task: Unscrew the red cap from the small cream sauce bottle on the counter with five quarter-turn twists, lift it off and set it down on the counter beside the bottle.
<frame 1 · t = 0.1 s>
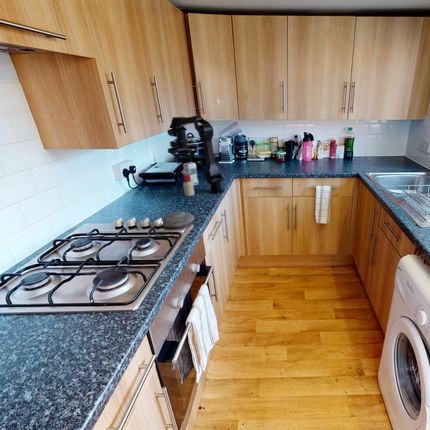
hand: (185, 162, 187), 15 cm above the worktop, tool pointing down, fingers open, 9 cm apart
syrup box: (192, 184, 190), on the worktop
bottle: (189, 194, 172), on the worktop
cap: (186, 176, 168), point 11 cm above the worktop, screwed on, not yet turned
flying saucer: (178, 223, 136), on the worktop
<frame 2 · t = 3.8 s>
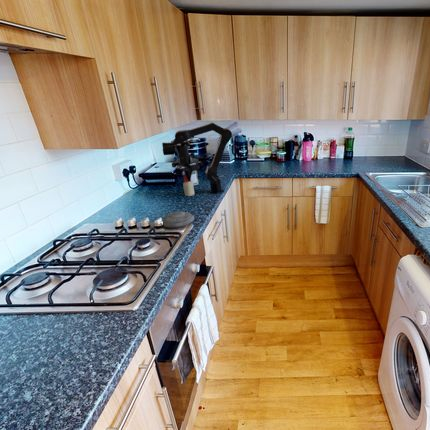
hand: (187, 180, 169), 9 cm above the worktop, tool pointing down, fingers closed on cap, 3 cm apart
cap: (186, 176, 168), point 11 cm above the worktop, screwed on, not yet turned, touching gripper
everything else where it was.
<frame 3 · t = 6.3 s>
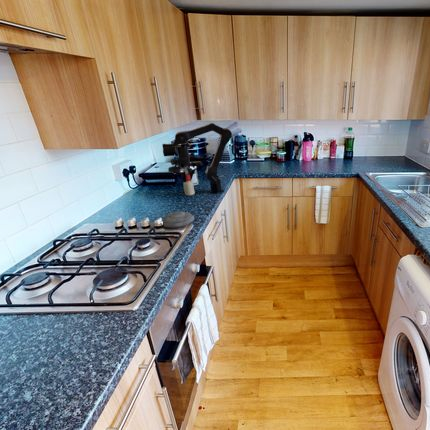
hand: (187, 181, 169), 8 cm above the worktop, tool pointing down, fingers closed on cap, 3 cm apart
bottle: (189, 193, 172), on the worktop
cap: (186, 175, 168), point 12 cm above the worktop, turned 89° so far, risen 0.1 cm, still on its thread, touching gripper
everything else where it was.
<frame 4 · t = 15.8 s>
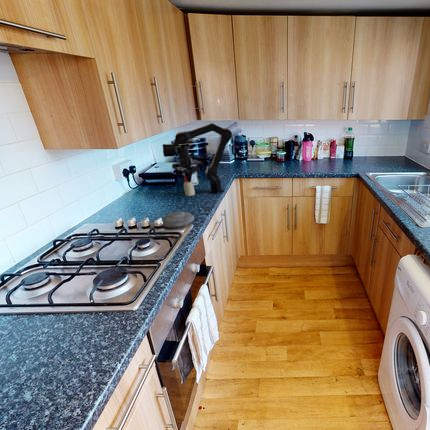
hand: (187, 181, 169), 8 cm above the worktop, tool pointing down, fingers closed on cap, 3 cm apart
bottle: (190, 194, 172), on the worktop
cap: (187, 175, 168), point 12 cm above the worktop, turned 179° so far, risen 0.2 cm, still on its thread, touching gripper
everything else where it was.
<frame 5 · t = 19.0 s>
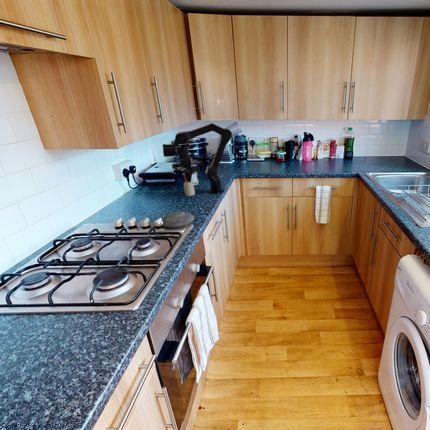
hand: (187, 181, 169), 8 cm above the worktop, tool pointing down, fingers closed on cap, 3 cm apart
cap: (187, 175, 168), point 12 cm above the worktop, turned 268° so far, risen 0.3 cm, still on its thread, touching gripper
everything else where it was.
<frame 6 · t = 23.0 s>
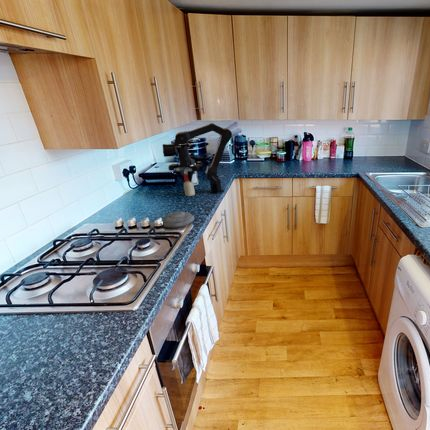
hand: (187, 181, 169), 8 cm above the worktop, tool pointing down, fingers closed on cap, 3 cm apart
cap: (186, 175, 168), point 12 cm above the worktop, off its thread, touching gripper
everything else where it was.
when the fingers open (1 cm above the worktop, at t = 28.2 s): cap drops 2 cm, point 3 cm above the worktop.
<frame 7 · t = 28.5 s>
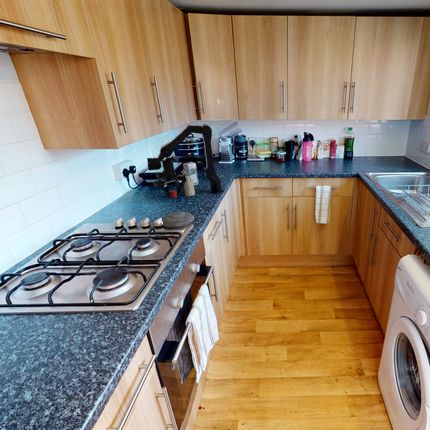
hand: (173, 194, 168), 1 cm above the worktop, tool pointing down, fingers open, 6 cm apart
bottle: (190, 194, 172), on the worktop, touching gripper
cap: (173, 191, 168), point 3 cm above the worktop, off its thread
everything else where it was.
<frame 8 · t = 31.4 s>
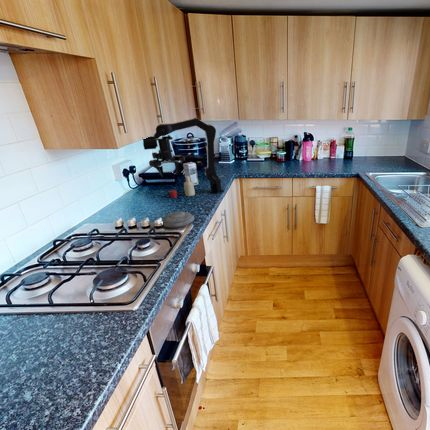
hand: (170, 175, 164), 13 cm above the worktop, tool pointing down, fingers open, 9 cm apart
bottle: (190, 194, 172), on the worktop
everything else where it was.
at the end: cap came off its thread; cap point 3.1 cm above the worktop; the gripper is holding nothing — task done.
